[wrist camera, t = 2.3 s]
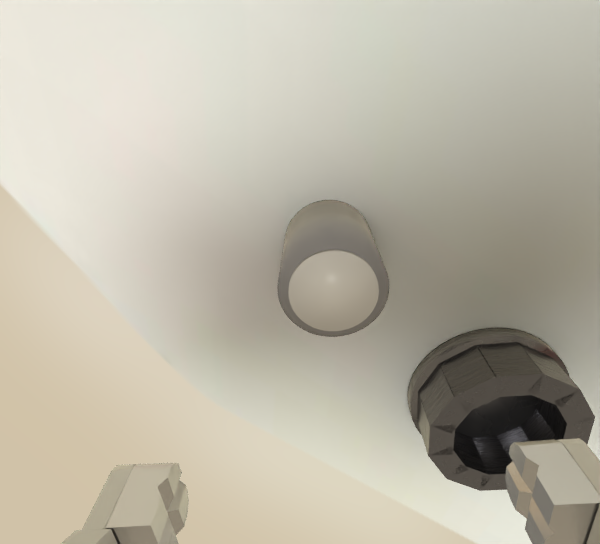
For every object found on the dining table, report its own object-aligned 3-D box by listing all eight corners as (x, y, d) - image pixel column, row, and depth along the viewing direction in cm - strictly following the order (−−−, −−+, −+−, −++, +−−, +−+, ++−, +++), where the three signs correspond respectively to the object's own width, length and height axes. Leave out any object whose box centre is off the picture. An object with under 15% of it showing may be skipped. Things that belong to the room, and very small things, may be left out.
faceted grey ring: (575, 322, 25) (619, 362, 22) (548, 441, 30) (580, 490, 26) (408, 333, 26) (424, 374, 22) (406, 448, 31) (419, 497, 27)
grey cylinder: (369, 196, 22) (390, 236, 17) (371, 276, 24) (390, 336, 19) (280, 204, 23) (270, 245, 17) (289, 283, 25) (283, 343, 19)
